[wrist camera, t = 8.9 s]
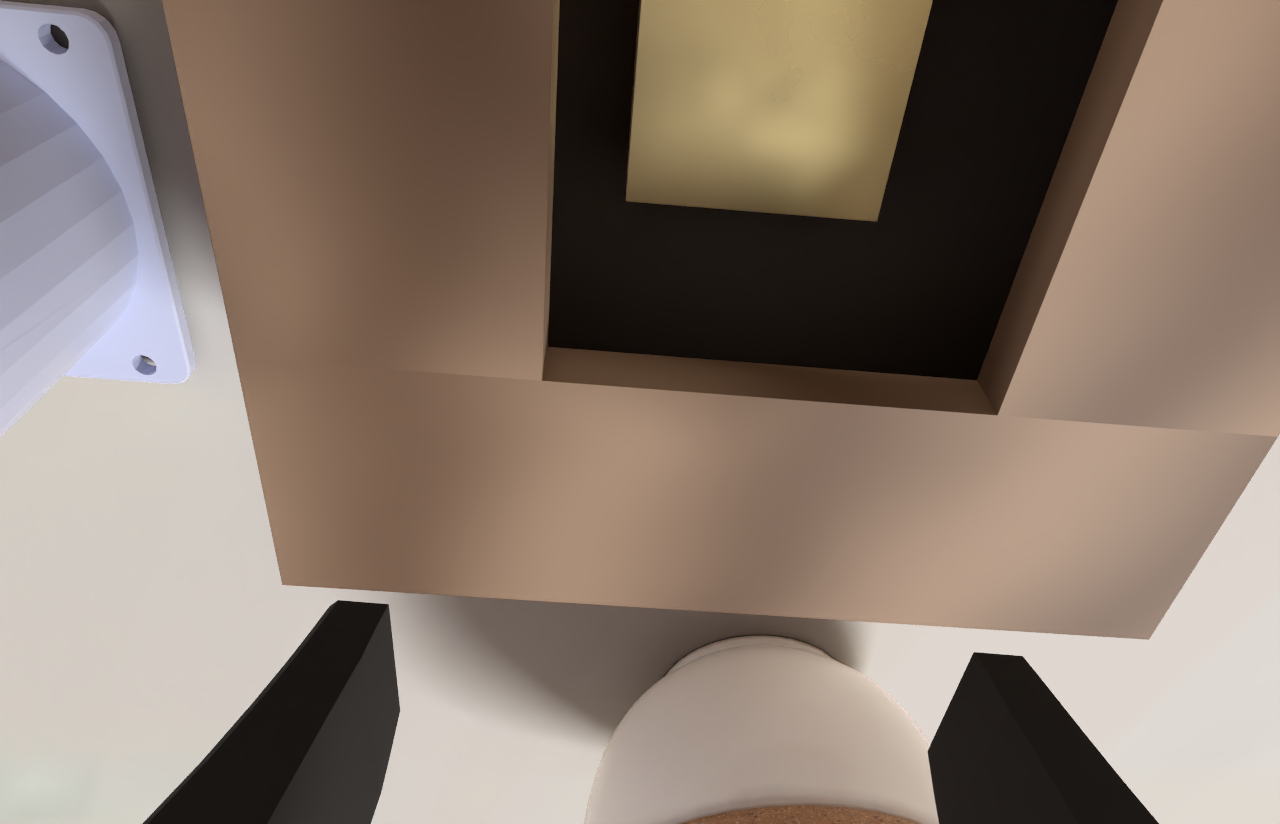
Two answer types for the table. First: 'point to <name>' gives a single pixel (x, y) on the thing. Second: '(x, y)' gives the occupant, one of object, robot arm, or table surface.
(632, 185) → the brass cube
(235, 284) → the coin box
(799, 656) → the lidded jar
